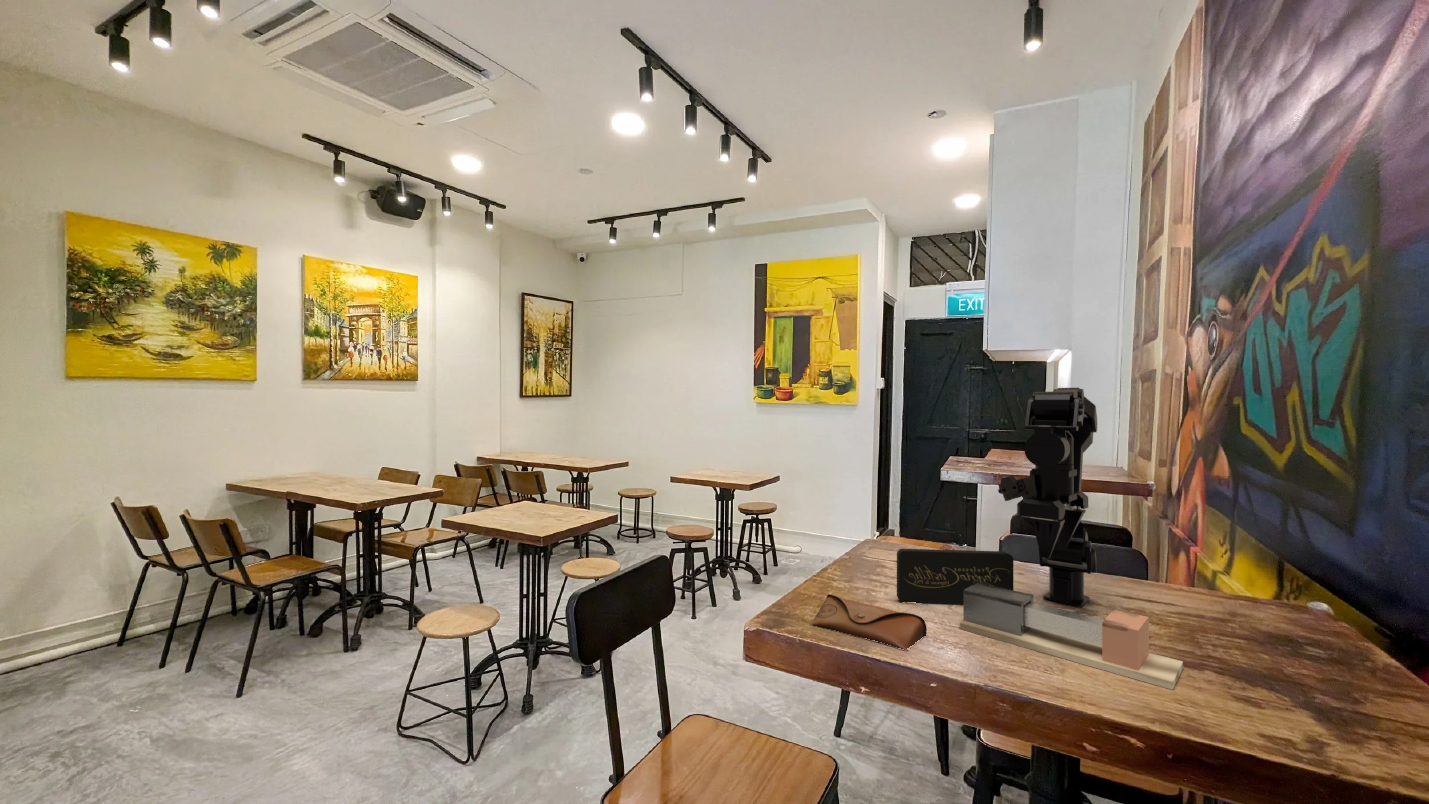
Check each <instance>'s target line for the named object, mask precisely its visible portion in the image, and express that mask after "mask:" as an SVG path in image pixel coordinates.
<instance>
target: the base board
mask: <svg viewBox="0 0 1429 804" xmlns="http://www.w3.org/2000/svg"><path fill="white" fill-rule="evenodd" d="M959 629H960V630H963V631H966V632H970V633H973V634H975V635H980V636H983V637H987V638H991V639H994V640H998V641H1000V642H1004V643H1007V644H1012V645H1015V646H1019V647H1022V648H1025V649H1029V650H1032V651H1036V652H1040V653H1042V654H1046V655H1050V656H1054V657H1057V658H1061V659H1064V660H1068V661H1070V662H1074V663H1078V664H1081V665H1085V666H1088V667H1092V668H1095V669H1099V670H1103V671H1106V672H1109V673H1112V674H1115V675H1116V674H1117V675H1119V676H1122V677H1123V676H1124V677H1127V678H1131V679H1134V680H1138V681H1141V682H1144V683H1148V684H1150V685H1154V686H1158V687H1161V688H1165V689H1168V690H1172V691H1173V690H1174V688H1175V686H1176V684H1177V682H1178V680H1179V679H1180V676H1181V673H1182V672H1183V669H1184V661H1183V660H1179V659H1176V658H1175V659H1174V658H1171V657H1167V656H1163V655H1159V654H1155V653H1152V652H1149V655H1148V657H1147V658H1146V660H1145V661H1144V663H1143V664H1142V666H1141V667H1140V669H1139V670H1135V669H1131V668H1128V667H1124V666H1120V665H1117V664H1113V663H1110V662H1106V661H1102V646H1100V645H1097V644H1093V643H1089V642H1085V641H1081V640H1077V639H1074V638H1070V637H1066V636H1062V635H1058V634H1054V633H1051V632H1047V631H1043V630H1039V629H1035V628H1031V629H1030V630H1028V631H1027V632H1026V633H1024V634H1023V635H1022V636H1018V635H1014V634H1011V633H1007V632H1003V631H1000V630H996V629H992V628H989V627H985V626H981V625H978V624H974V623H970V622H967V621H963V620H962V621H960V622H959Z"/></svg>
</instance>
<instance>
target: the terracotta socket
mask: <svg viewBox="0 0 1429 804" xmlns="http://www.w3.org/2000/svg"><path fill="white" fill-rule="evenodd" d="M1149 618H1150V617H1149V616H1147V615H1146V616H1145V615H1141V614H1137V613H1132V612H1128V611H1123V610H1120V609H1113V610H1112V611H1111V612H1110V613H1109V615H1107V616H1106V617H1105V619H1104V621H1103V622H1102V661H1106V662H1110V663H1113V664H1117V665H1120V666H1124V667H1128V668H1131V669H1135V670H1139V669H1140V667H1141V666H1142V664H1143V663H1144V661H1145V660H1146V658H1147V657H1148V655H1149V653H1150V652H1149V651H1150V650H1149V649H1150V645H1149V644H1150V641H1149V639H1150V634H1149V629H1150V623H1149V621H1150V620H1149Z"/></svg>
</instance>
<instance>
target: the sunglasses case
mask: <svg viewBox="0 0 1429 804" xmlns="http://www.w3.org/2000/svg"><path fill="white" fill-rule="evenodd" d="M809 624H810V625H809V626H811V625H812V627H815V626H817V627H816V628H820V629H821V628H822V629H825V628H826V630H829V629H831V630H830V631H833V630H836V631H835V632H837V631H839V632H838V633H841V632H843V633H842V634H845V633H847V634H846V635H848V634H851V635H850V636H852V635H854V636H853V637H856V636H858V637H857V638H859V637H862V638H861V639H863V638H867V639H870V640H875V641H878V642H882V643H885V644H888V645H891V646H894V647H897V648H901V649H904V650H907V648H909V647H910V646H912V645H914V644H915V642H917V641H918V640H920V639H921V638H922V637H923V638H924V636H926V637H927V632H928V631H927V630H928V629H927V623H926V621H925V620H924V618H923V617H921V616H919V615H917V614H914V613H911V612H905V611H903V612H902V611H896V610H892V609H889V608H884V607H882V606H877V605H872V604H869V603H864V602H859V601H855V600H850V599H846V598H842V597H840V596H837V595H834V594H827V595H826V597H825V600H824V601H823V603H822V605H821V606H820V608H819V610H818V612H817V613H816V614H815V617H814V618H813V620H812V622H811V623H809ZM923 638H922V639H923ZM867 639H866V640H867ZM922 639H921V640H922ZM870 640H869V641H870ZM921 640H920V641H921ZM885 644H884V645H885ZM888 645H887V646H888ZM915 645H916V644H915ZM915 645H914V646H915ZM891 646H890V647H891ZM894 647H893V648H894ZM897 648H896V649H897ZM904 650H903V651H904Z"/></svg>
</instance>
